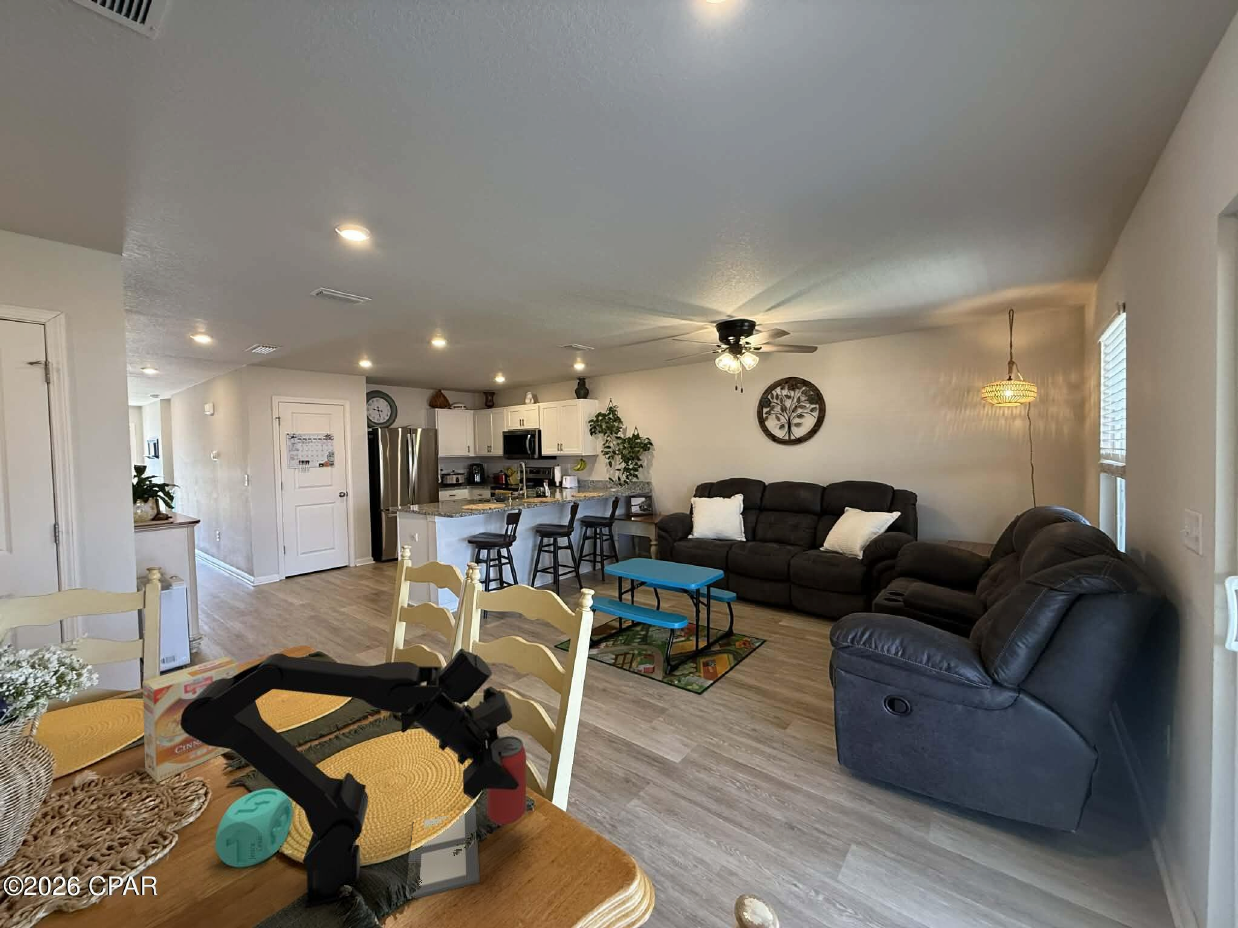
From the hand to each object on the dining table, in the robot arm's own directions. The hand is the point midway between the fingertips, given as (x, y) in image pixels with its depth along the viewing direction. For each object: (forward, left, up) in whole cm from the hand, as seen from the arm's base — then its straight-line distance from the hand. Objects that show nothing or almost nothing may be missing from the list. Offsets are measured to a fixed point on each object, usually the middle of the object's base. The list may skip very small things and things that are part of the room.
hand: (514, 773), depth 88 cm
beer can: (-1, 0, -7) cm, 7 cm away
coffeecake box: (-64, +45, -12) cm, 79 cm away
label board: (-12, +2, -12) cm, 17 cm away
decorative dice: (-42, +12, -12) cm, 46 cm away
